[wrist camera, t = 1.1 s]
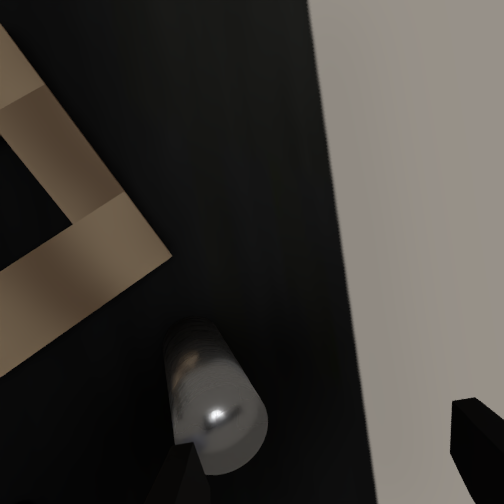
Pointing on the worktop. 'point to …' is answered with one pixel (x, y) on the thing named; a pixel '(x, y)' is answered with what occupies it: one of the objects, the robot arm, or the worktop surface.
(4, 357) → the socket plate
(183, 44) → the worktop surface
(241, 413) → the metal peg
